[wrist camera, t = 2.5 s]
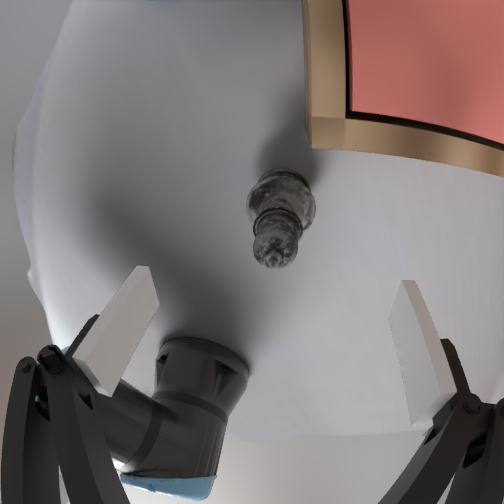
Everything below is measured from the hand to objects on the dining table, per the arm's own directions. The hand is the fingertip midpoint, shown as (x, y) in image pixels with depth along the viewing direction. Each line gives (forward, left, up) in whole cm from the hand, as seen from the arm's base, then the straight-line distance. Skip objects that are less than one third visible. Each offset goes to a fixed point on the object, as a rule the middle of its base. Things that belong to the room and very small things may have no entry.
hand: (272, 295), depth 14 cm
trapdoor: (+11, +16, -5) cm, 20 cm away
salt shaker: (0, 0, -15) cm, 15 cm away
